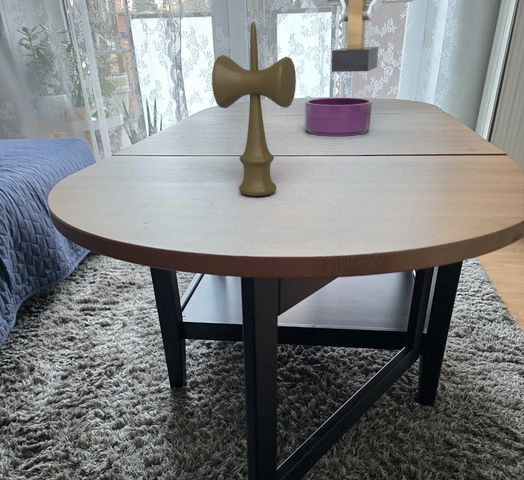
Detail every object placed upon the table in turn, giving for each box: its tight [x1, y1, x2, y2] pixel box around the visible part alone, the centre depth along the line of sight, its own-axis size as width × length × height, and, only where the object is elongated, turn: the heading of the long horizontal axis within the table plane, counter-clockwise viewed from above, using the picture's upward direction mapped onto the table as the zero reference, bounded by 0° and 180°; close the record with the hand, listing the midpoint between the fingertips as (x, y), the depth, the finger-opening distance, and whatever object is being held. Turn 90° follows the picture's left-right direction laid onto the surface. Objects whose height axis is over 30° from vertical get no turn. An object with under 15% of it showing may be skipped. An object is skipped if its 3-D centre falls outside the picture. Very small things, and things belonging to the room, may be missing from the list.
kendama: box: [211, 21, 297, 197], centre depth 65 cm, size 6×10×20 cm, turn 68°
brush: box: [331, 0, 379, 73], centre depth 94 cm, size 7×7×14 cm
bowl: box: [304, 97, 373, 137], centre depth 111 cm, size 14×14×6 cm
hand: (355, 18), depth 93 cm, fingers closed on brush, 2 cm apart
